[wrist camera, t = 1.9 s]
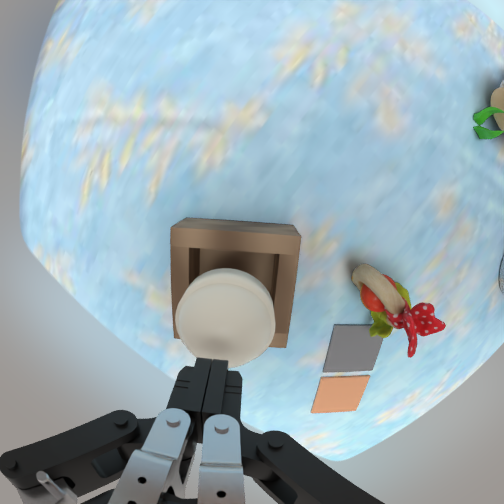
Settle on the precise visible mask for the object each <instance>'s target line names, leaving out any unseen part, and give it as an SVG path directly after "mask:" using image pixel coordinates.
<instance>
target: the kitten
mask: <svg viewBox="0 0 504 504" xmlns="http://www.w3.org/2000/svg"><path fill="white" fill-rule="evenodd" d="M492 114H493V116H494V118H495V120H496V122H497V124H498V126H499V128H500V129H501V130H502V131H492V130H489V129H487V128H484V127H481V126H480V125H481V124H483V123H484V122H485V120H486V119H487V118H488V117H490V116H491V115H492ZM474 120H475V122H476V123H477V124H478V125H479V126H475V127H473V128H474V129H475V131H476V132H477V134H478V136H479V138H480V139H493V138H496V137H497V136H499V135H501V134H502V133H503V132H504V80H503V81H502V82H501V84H500V86H499V88H497V89H495V90H494V91H493V93H492V95H491V107H487V108H485V109H483V110H482V111H480V112H478V113H476V114H474Z"/></svg>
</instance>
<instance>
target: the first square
mask: <svg viewBox="0 0 504 504" xmlns="http://www.w3.org/2000/svg"><path fill="white" fill-rule="evenodd" d="M371 326H372V325H334V328H333V332H332V336H331V341H330V345H329V349H328V353H327V357H326V361H325V364H324V368H323V372H353V371H370V370H373V367H374V364H375V362H376V359H377V356H378V353H379V350H380V347H381V344H382V341H383V338H382V337H380V336H378V335H376V336H373V337H371V336H370V333H369V329H370V328H371Z"/></svg>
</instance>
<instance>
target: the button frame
mask: <svg viewBox="0 0 504 504" xmlns="http://www.w3.org/2000/svg"><path fill="white" fill-rule="evenodd" d="M300 242H301V235H300V234H299V233H298V231H297V230H296V228H295V227H294V226H293V225H287V224H275V223H262V222H248V221H234V220H219V219H202V218H185V219H183V220H181V221H180V222H178V223H177V224H175V225H173V226H172V227H171V238H170V244H171V293H172V314H173V330H174V338H177V339H181V338H180V337H179V334H178V332H177V328H176V323H175V315H176V309H177V306H178V304H179V302H180V300H181V298H182V297H183V295H184V293H185V292H186V290H187V288H188V287H189V285H190V284H191V283H192V282H193V281H194V280H195V279H196V278H197V277H198V276H200V275H202V274H203V273H205V272H208V271H210V270H214V269H221V268H231V269H237V270H241V271H244V272H246V273H248V274H250V275H252V276H254V277H255V278H256V279H258V280H259V281H260V282H261V283H262V284H263V285H264V286H265V287H266V289H267V290H268V292H269V294H270V296H271V298H272V302H273V307H274V316H275V333H274V337H273V339H272V342H271V343H270V345H269V347H278V348H286V345H287V339H288V332H289V326H290V319H291V312H292V305H293V298H294V291H295V283H296V276H297V268H298V260H299V251H300Z"/></svg>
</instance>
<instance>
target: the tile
mask: <svg viewBox="0 0 504 504" xmlns="http://www.w3.org/2000/svg"><path fill="white" fill-rule="evenodd" d="M369 378H370V375H361V376H341V377H321V379H320V383H319V386H318V390H317V393H316V397H315V400H314V403H313V406H312V410H311V413H329V412H344V411H356V409H357V407H358V405H359V402H360V400H361V398H362V395H363V393H364V390H365V388H366V385H367V383H368V380H369Z"/></svg>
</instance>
